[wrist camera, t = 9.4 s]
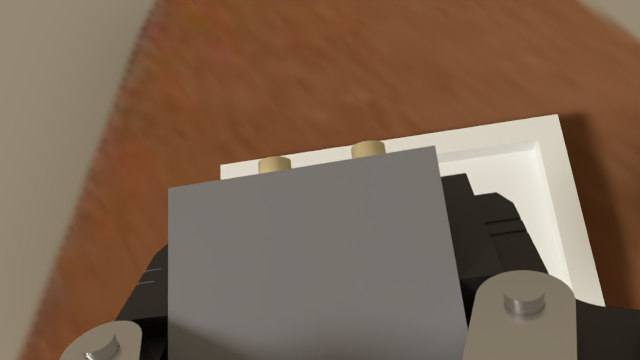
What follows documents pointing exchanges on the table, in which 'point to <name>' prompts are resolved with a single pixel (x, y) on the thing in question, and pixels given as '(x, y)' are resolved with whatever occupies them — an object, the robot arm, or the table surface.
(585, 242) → the parts tray
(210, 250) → the plug
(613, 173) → the table surface
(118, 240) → the table surface
